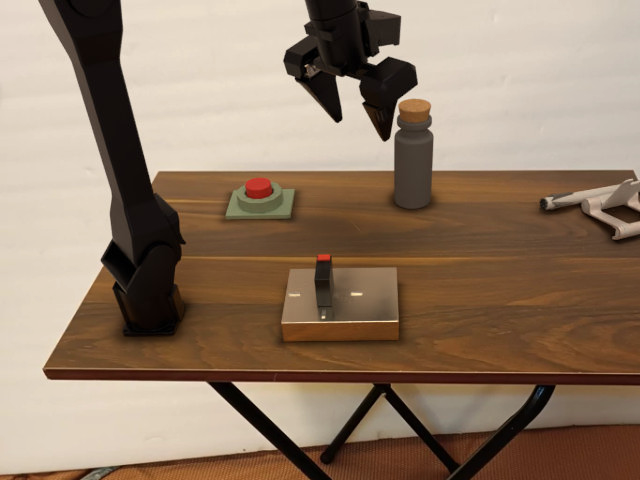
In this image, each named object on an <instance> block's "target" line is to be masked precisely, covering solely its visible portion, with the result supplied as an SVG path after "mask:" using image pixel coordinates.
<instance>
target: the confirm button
mask: <svg viewBox="0 0 640 480" xmlns="http://www.w3.org/2000/svg"><path fill="white" fill-rule="evenodd" d="M271 182H272V181H271V180H270V179H269V178H267V177H253V178H251V179H248V180H247V181H246V182H245V184H244V185H245V188H246V194H247V197H248V198H252V199H263V198H266V197H269V196H270V195H271V194H272V186H271Z"/></svg>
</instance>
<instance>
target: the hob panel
mask: <svg viewBox="0 0 640 480" xmlns="http://www.w3.org/2000/svg"><path fill="white" fill-rule="evenodd" d="M315 269H316V268H290V269H289V274H288V280H287V286H286V292H285V298H284V304H283V309H282V315H281V320H280V321H281V322H280V324H281V325H280V326H281V332H282V337H283V342H346V341H347V342H349V341H350V342H351V341H355V342H356V341H399V339H400V338H399V337H400V335H399V333H400V326H399V325H400V324H399V323H400V319H399V294H398V289H399V288H398V268H397V267H396V266H395V267H394V266H393V267H392V266H391V267H390V266H387V267H333V279H334V284H333V296H332V306H317V301H316V292H315V282H314V277H315Z"/></svg>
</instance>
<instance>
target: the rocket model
mask: <svg viewBox="0 0 640 480" xmlns="http://www.w3.org/2000/svg"><path fill="white" fill-rule="evenodd" d="M638 181H639V180H636V181H632V183H634V182H638ZM621 184H622V183H619V184H614V185H608V186H602V187H598V188H592V189H588V190H587V189H586V190H581V191H575V192H571V191H568V192H560V193H552V194H550V195H547V197H544V198H540V200H539V202H538V203H539V205H538V206H539V207H540V210H543V211H544V210H547V211H548V210H549V211H553V210H556V209H560V208H564V207H567V206H573V205H578V204H581V203H582V201H583V199H586V198H591V197H595V196H600V195H604V194H609V193H613V192H614V191H615V190H616V189H617V188H618V187H619V186H620V185H621ZM638 193H640V190H639V191H638Z"/></svg>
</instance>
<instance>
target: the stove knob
mask: <svg viewBox="0 0 640 480" xmlns="http://www.w3.org/2000/svg"><path fill="white" fill-rule="evenodd" d="M333 268H334V267H333V257H332V255H331V254H317V255H316V261H315V268H314V269H315V277H314V282H315V292H316V301H317V306H332V296H333V284H334V279H333Z"/></svg>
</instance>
